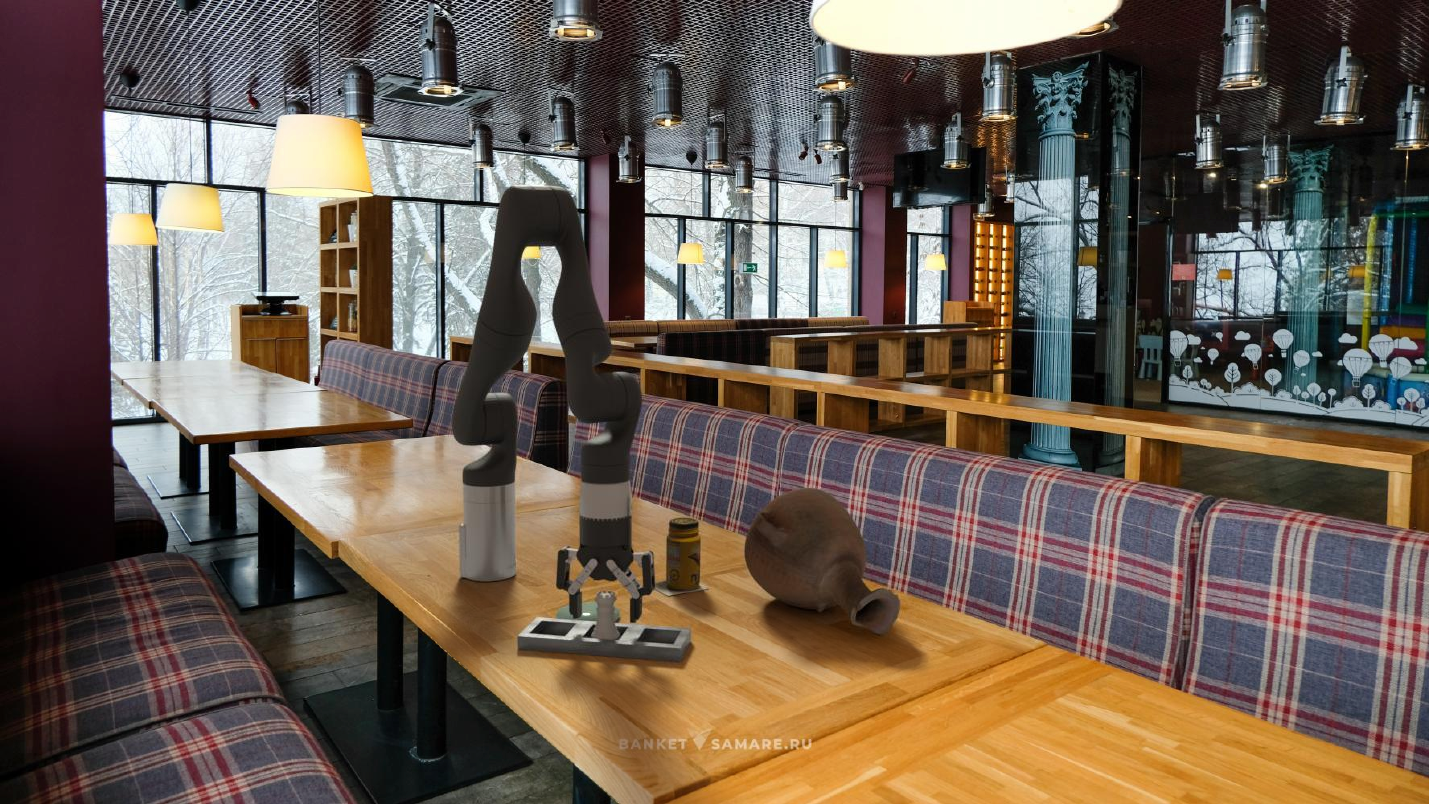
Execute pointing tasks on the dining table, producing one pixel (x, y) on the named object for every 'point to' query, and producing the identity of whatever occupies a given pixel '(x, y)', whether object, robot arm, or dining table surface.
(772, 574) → the jug
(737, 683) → the dining table surface
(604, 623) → the rook chess piece
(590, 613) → the green dome
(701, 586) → the condiment
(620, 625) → the grey compartment tray
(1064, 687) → the dining table surface
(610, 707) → the dining table surface
